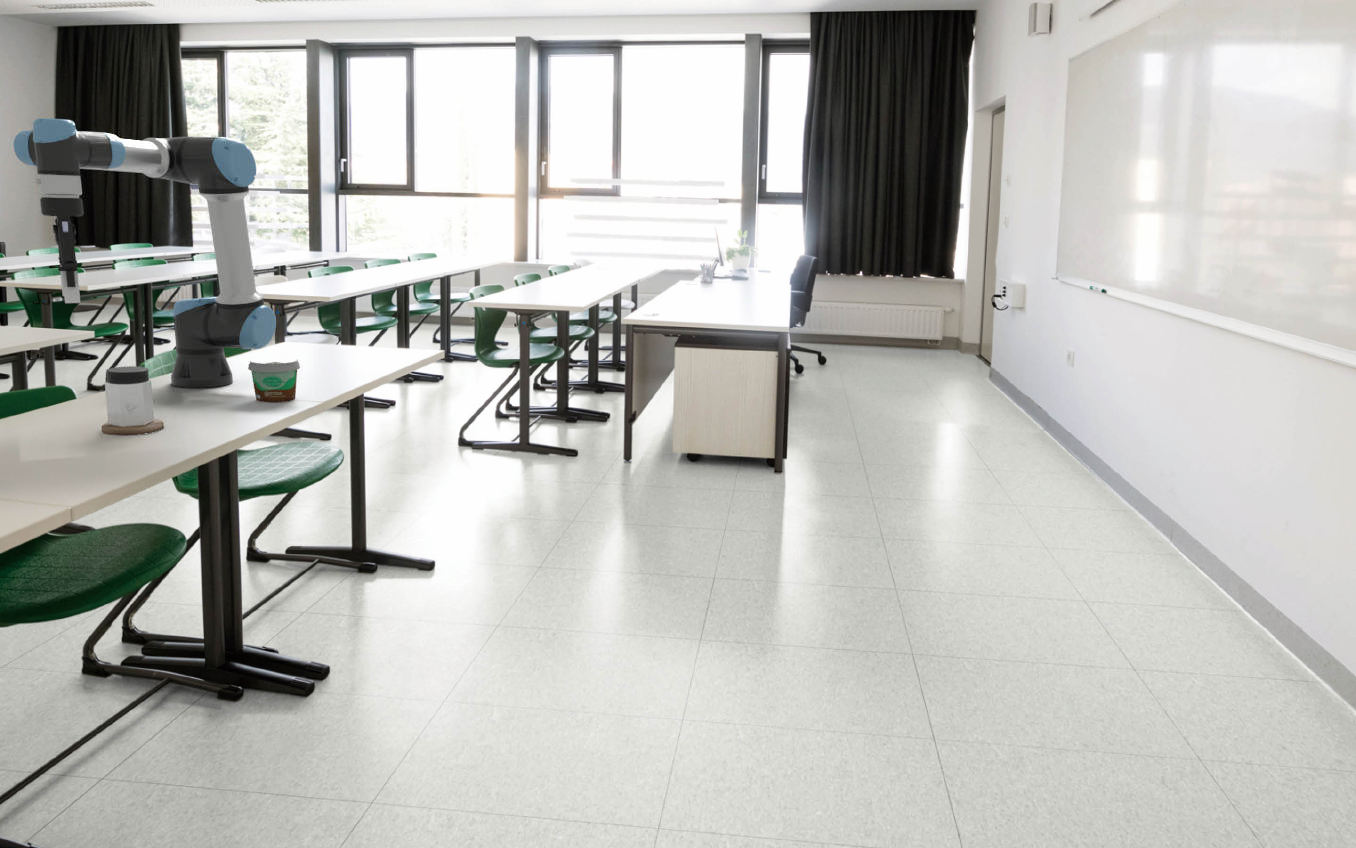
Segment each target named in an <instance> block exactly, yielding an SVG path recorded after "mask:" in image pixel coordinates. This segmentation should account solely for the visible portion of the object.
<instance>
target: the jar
mask: <svg viewBox="0 0 1356 848" xmlns="http://www.w3.org/2000/svg"><path fill="white" fill-rule="evenodd" d="M105 374H106V382H104V388H105V390H104V391H105V400H106V411H107V412H106V413H107V423H108V424H109V425H114V426H119V427H132V426H144V425H147V424H149V423H151V422H153V421H154V419H155V416H154V413H155V412H154V401H153V398H154V397H153V389H152V388H153V387H152V379H150V376H149V369H148V368H147V367H144V366H133V365H132V366H131V365H130V366H127V365H126V366H117V367H110V368H107V369H106V370H105Z"/></svg>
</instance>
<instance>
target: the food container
mask: <svg viewBox="0 0 1356 848" xmlns="http://www.w3.org/2000/svg"><path fill="white" fill-rule="evenodd" d="M247 369H248V370H249V371H251V377H252V383H253V388H254V394H255V400H256V401H257V402H261V403H269V404H270V403H273V404H275V403H277V404H278V403H286V402H287V401H288V402H292V401H294V400H295V399H296V395H297V394H296V393H297V392H296V391H297V380H298V379H297V377H298V370H299V369H301V365H300V362H299V361H298V359H296V360H295V361H291V362H279V361H278V362H277V361H275V362H274V361H273V362H272V361H271V362H267V363H260V362H253V361H251V360H249V363H248V368H247ZM291 400H292V401H291Z"/></svg>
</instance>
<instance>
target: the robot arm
mask: <svg viewBox="0 0 1356 848" xmlns="http://www.w3.org/2000/svg"><path fill="white" fill-rule="evenodd" d="M13 151H14V154H15V156H16V157H17V159H18V160H19V161H20V162H21V163H23V164H25V165H27V166H32V167H33V166H34V167H36V170H37V171H36V172H37V178H35V180H34V183H35V184H36V185H39V186H38V190H39V194H41V195H43V196H42V197H40V198H39V201H40V202H39V203H40V212H41V214H42V215H43V216H45V217H46V216H47V217H56V218H55V219H54V223H55V224H52V231H53V234H54V240H55V243H56V244H57V247H58V263H59V266H57V267H58V272H60V280H61V281H60V283H61V284H60V285H61V292H62V293H61V294H62V297H64V303H65V304H81V295H80V285H79V275H78V260H77V257H76V248H75V245H76V244H77V241H76V234H77V231H76V230H77V229H76V225H75V224H73V222H72V221H71V217H82V216H84V205H83V202H84V201H83V199H82V198H81V197H80V196H81V195H82V194H83V189H82V180H81V173H80V170H81V169H84V170H96V171H97V170H99V171H101V170H102V171H111V172H113V171H114V172H125V173H138V174H139V173H141V174H143V175H145V177H146V176H147V177H149V178H151V179H152V178H153V179H163V180H168V181H173V182H178V183H184V184H188V185H189V184H190V185H191V184H192V185H197V186H198V187H197V188H198V193H199V195H200V196H201V197H203V198H204V199H205V200H206V202H207V203H206V204H207V209H208V217H209V224H210V230H211V237H212V243H213V250H214V255H215V256H214V257H215V258H214V259H215V263H216V271H217V276H218V277H217V278H218V284H219V292H220V293H219V295H218V296H209V297H198V298H189V299H179V300H177V301H176V302H175V303H174V305H173V327H174V339H175V349H176V351H175V352H176V357H175V360H174V364H173V368H172V370H171V371H172V372H171V375H170V382H171V385H172V386H174V387H179V388H189V389H191V388H195V389H196V388H199V389H201V388H215V387H222V386H227V385H231V384H233V381H234V379H233V372H232V370H231V368H230V364H229V363H228V360H227V357H226V355H225V348H232V349H233V348H235V349H243V350H246V351H247V350H260V349H262V348H265V347H266V346H267V345H269V343H270V342H271V341H272V339H273V337H274V335H275V332H276V328H277V327H276V326H277V317H276V314H275V311H274V310H273V309H272V307H269V306H268V305H266V304H265V300H264V296H263V294H261V293H260V292H258V291H257V289H256V288H257V287H256V280H255V274H254V265H253V258H252V251H251V242H250V237H249V230H248V228H249V227H248V222H247V215H246V206H245V200H244V199H245V197H246V196H247V195H248V194H249V192H250V189H249V186H251V185H252V184H253V183H254V182H255V180H256V177H255V176H256V175H257V165H256V161H255V160H256V159H255V157H254V154H253V151H251V149H250V148H249V147H248V146H247V145H246V144H245V143H244V142H243V141H242V140H240V139H236V138H232V137H226V136H176V137H162V138H161V137H159V138H157V137H146V138H144V139H142V140H138V139H137V140H135V139H127V138H126V139H125V138H120V137H118V136H117V135H116V134H114V133H113V134H112V133H109V132H108V133H107V132H104V131H103V132H100V131H99V132H98V131H83V130H81V131H79V130H78V129H76V124H75V122H74V121H73V120H71V119H62V118H45V117H40V118H38V117H37V118H36V119H35V120H34V121H33V123H32V129H31V130H29V129H28V130H22V131H20V132H18V134H16V136H15V137H14V139H13Z"/></svg>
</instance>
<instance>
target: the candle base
mask: <svg viewBox="0 0 1356 848" xmlns="http://www.w3.org/2000/svg"><path fill="white" fill-rule="evenodd" d="M164 428H165V424H164V421H162V420H159V419H156V418H154V421H153V422H151V423H149V424H147V425H144V426H132V427H119V426H114V425H109V424H108V422H106V423H104V424H102V425H101V432H102V433H103V434H105V435H109V436H111V435H112V436H138V434H141V435H146V434H145V433H148V434H152V432H153V433H157V432H160V431H162V430H163V429H164ZM161 429H162V430H161ZM159 430H160V431H159ZM156 431H157V432H156Z"/></svg>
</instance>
